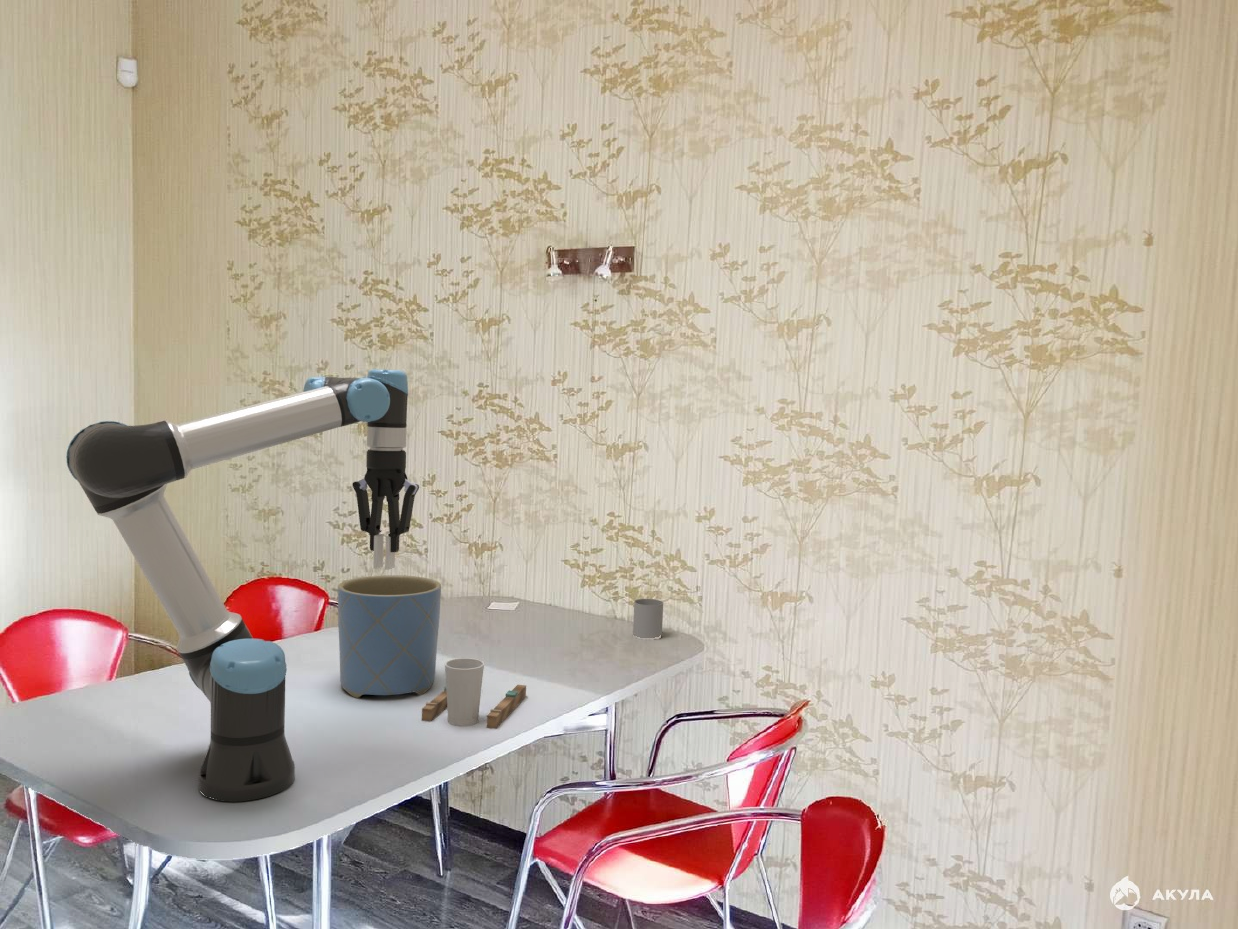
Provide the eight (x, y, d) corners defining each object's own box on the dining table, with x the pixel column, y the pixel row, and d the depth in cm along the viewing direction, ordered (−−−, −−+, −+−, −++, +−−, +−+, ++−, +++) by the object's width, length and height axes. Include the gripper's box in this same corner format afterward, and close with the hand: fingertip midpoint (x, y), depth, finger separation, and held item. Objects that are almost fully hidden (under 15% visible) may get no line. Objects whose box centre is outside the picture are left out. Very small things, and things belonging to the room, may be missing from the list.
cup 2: (629, 638, 260) (630, 603, 259) (637, 631, 268) (638, 597, 267) (658, 641, 257) (659, 606, 257) (665, 634, 265) (666, 600, 265)
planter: (334, 705, 195) (336, 596, 194) (337, 673, 217) (339, 575, 216) (442, 699, 202) (445, 594, 200) (434, 669, 223) (437, 574, 222)
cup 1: (474, 729, 185) (476, 670, 184) (437, 725, 186) (438, 667, 185) (487, 716, 192) (489, 660, 192) (452, 712, 194) (453, 656, 193)
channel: (496, 728, 185) (496, 713, 185) (421, 720, 188) (421, 705, 188) (526, 696, 206) (526, 682, 206) (458, 689, 209) (458, 676, 209)
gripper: (429, 449, 181) (426, 567, 183) (360, 446, 184) (357, 562, 186) (414, 451, 174) (411, 574, 176) (342, 447, 177) (340, 568, 178)
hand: (384, 567), depth 181 cm, fingers open, 2 cm apart
